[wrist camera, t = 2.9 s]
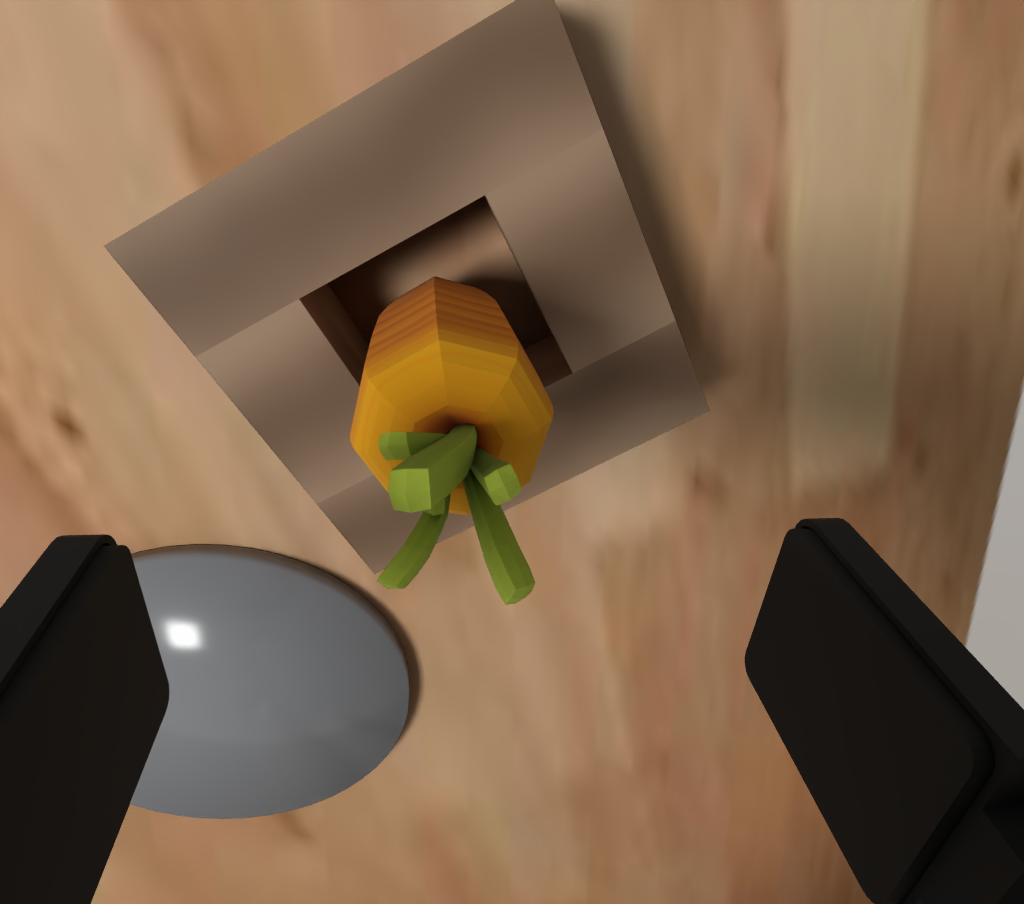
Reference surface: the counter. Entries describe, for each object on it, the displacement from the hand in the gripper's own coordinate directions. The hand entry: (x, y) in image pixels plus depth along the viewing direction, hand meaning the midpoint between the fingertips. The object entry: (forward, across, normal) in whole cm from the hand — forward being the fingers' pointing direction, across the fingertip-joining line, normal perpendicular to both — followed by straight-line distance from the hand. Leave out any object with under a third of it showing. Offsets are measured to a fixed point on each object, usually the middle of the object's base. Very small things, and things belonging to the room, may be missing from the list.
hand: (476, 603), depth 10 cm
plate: (+16, +10, +21) cm, 28 cm away
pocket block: (+17, 0, +1) cm, 17 cm away
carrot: (+17, 0, +1) cm, 17 cm away
